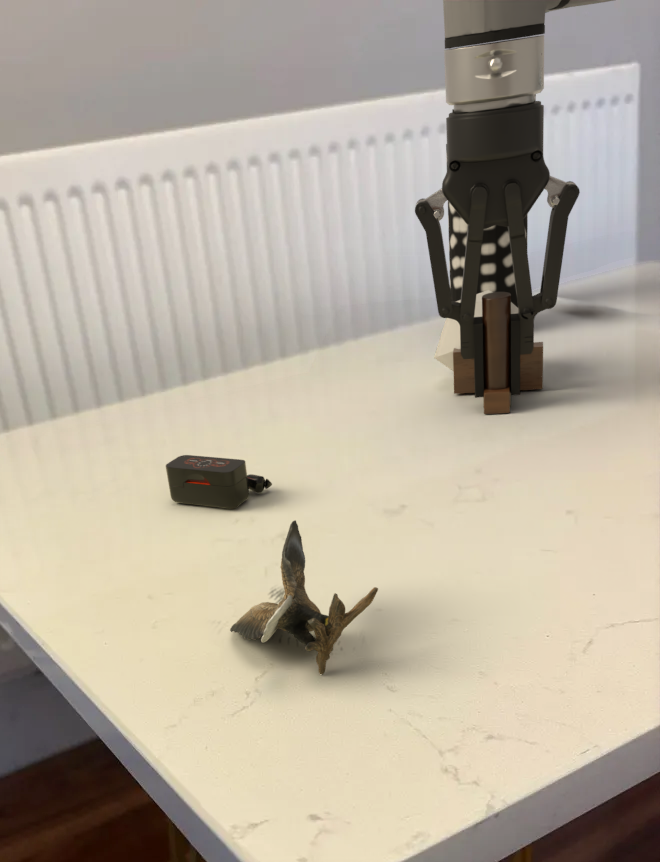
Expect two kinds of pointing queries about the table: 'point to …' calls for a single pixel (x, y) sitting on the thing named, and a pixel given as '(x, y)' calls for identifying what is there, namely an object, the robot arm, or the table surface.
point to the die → (457, 334)
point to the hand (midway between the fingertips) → (496, 391)
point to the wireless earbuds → (212, 481)
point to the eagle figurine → (300, 608)
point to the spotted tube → (482, 257)
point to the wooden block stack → (498, 358)
